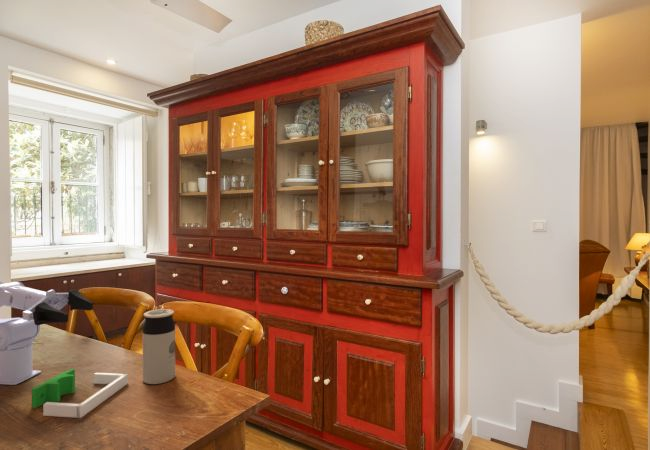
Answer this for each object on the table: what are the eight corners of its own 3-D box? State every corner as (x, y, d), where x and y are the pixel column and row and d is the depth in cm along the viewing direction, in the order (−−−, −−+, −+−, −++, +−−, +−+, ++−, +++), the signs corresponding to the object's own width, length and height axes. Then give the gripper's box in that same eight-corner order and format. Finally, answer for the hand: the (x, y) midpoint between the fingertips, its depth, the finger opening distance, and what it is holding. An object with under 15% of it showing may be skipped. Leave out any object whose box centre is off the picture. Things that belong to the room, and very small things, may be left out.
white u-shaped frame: (43, 415, 81) (43, 404, 81) (96, 381, 98) (96, 372, 98) (80, 417, 81) (80, 406, 81) (127, 383, 97) (127, 374, 97)
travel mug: (135, 383, 97) (135, 315, 97) (156, 370, 105) (156, 307, 105) (162, 386, 96) (162, 317, 95) (181, 374, 103) (181, 309, 103)
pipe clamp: (46, 410, 84) (46, 390, 84) (31, 408, 85) (31, 389, 85) (84, 386, 95) (83, 369, 95) (71, 386, 96) (70, 368, 96)
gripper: (6, 296, 90) (54, 308, 88) (59, 278, 104) (101, 287, 102) (7, 323, 92) (54, 335, 89) (59, 301, 106) (101, 311, 103)
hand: (79, 311), depth 96 cm, fingers open, 7 cm apart
